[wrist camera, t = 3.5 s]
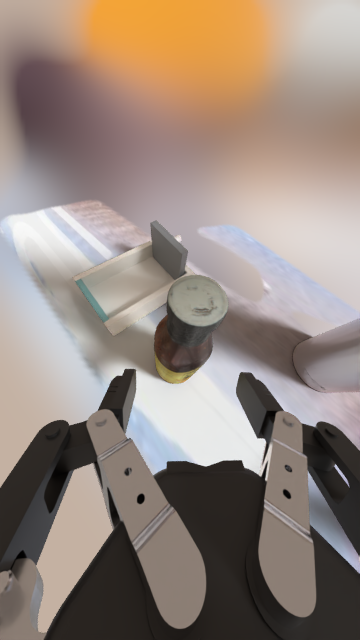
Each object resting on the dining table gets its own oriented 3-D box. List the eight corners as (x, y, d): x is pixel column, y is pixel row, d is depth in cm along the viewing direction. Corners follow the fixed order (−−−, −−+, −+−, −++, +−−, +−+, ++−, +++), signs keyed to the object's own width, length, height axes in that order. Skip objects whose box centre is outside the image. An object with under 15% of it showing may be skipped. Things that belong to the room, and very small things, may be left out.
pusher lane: (158, 252, 39) (158, 237, 35) (191, 286, 35) (195, 273, 32) (82, 290, 33) (72, 277, 29) (113, 336, 30) (106, 327, 26)
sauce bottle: (184, 391, 27) (230, 376, 9) (149, 374, 27) (124, 328, 10) (199, 353, 30) (256, 284, 12) (166, 339, 30) (173, 251, 12)
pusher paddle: (164, 250, 37) (165, 216, 30) (189, 276, 35) (196, 246, 28) (152, 256, 36) (150, 222, 29) (178, 284, 34) (182, 254, 27)
